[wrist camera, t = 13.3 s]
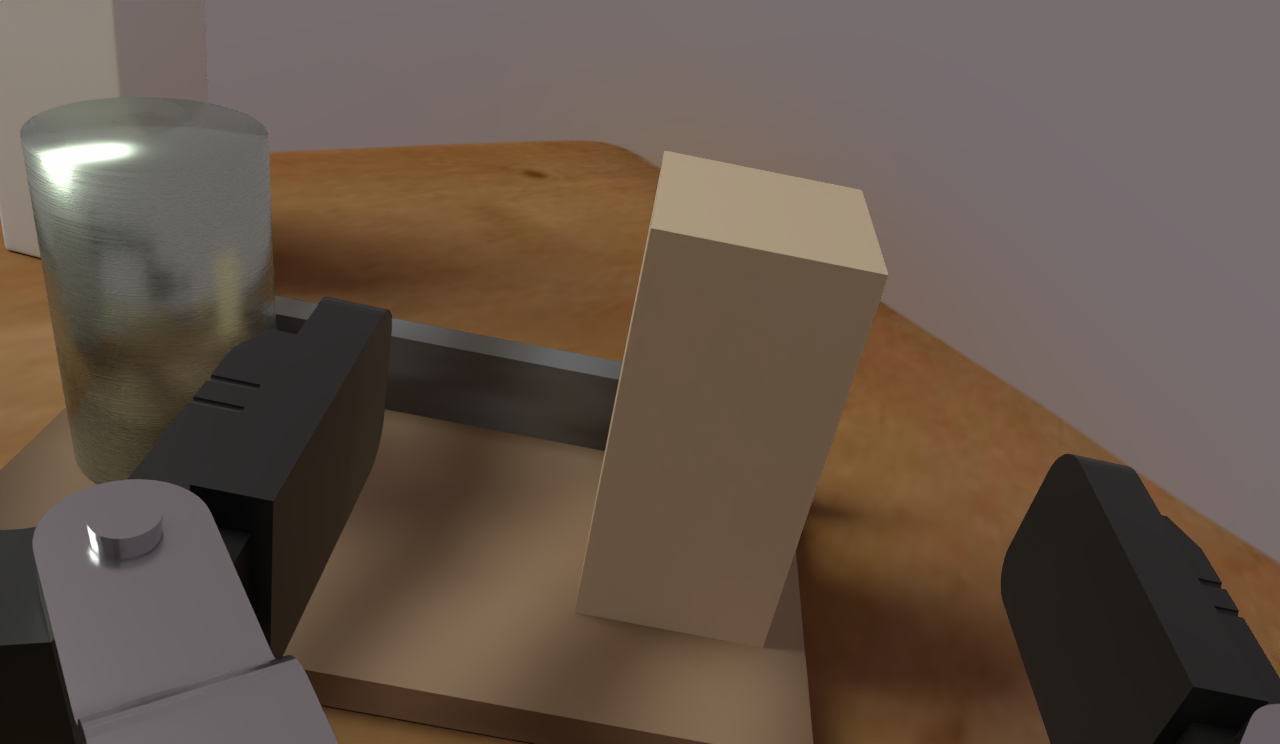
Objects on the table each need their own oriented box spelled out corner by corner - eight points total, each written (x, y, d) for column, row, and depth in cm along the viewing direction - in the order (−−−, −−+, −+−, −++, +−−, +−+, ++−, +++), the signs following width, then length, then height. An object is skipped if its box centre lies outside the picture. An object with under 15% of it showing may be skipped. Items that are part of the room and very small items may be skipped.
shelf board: (-115, 626, 26) (-151, 497, 24) (138, 368, 38) (129, 265, 35) (802, 792, 27) (847, 681, 25) (780, 489, 38) (809, 396, 36)
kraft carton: (574, 612, 29) (651, 227, 23) (596, 492, 34) (664, 148, 28) (762, 647, 29) (888, 275, 23) (758, 523, 34) (861, 188, 28)
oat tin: (44, 494, 29) (-19, 159, 24) (106, 384, 35) (64, 88, 30) (265, 498, 31) (247, 180, 26) (293, 391, 36) (282, 108, 31)
